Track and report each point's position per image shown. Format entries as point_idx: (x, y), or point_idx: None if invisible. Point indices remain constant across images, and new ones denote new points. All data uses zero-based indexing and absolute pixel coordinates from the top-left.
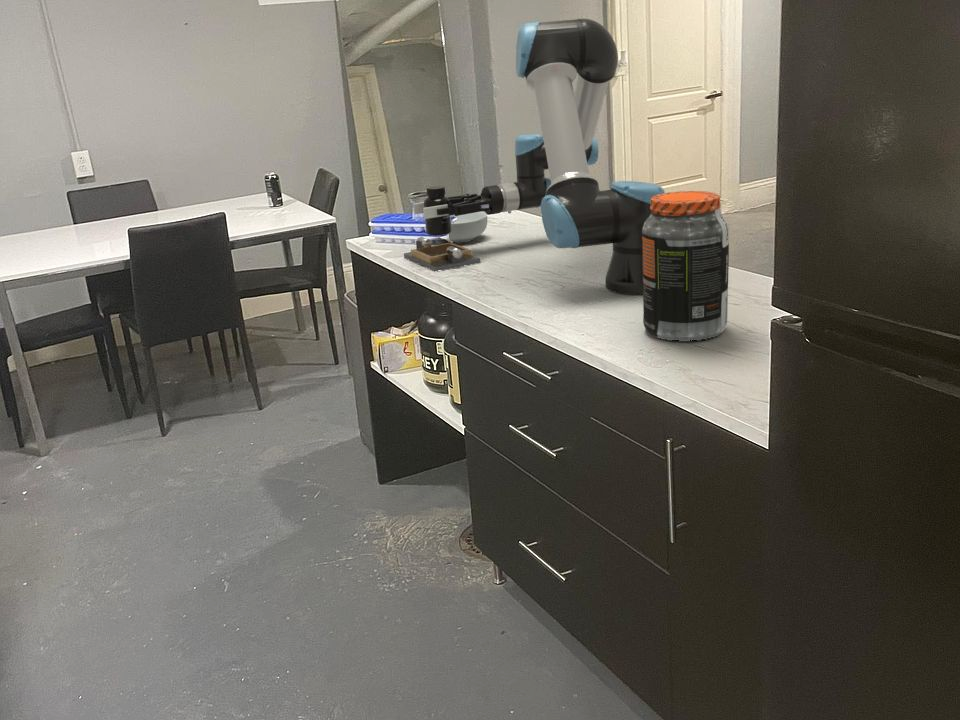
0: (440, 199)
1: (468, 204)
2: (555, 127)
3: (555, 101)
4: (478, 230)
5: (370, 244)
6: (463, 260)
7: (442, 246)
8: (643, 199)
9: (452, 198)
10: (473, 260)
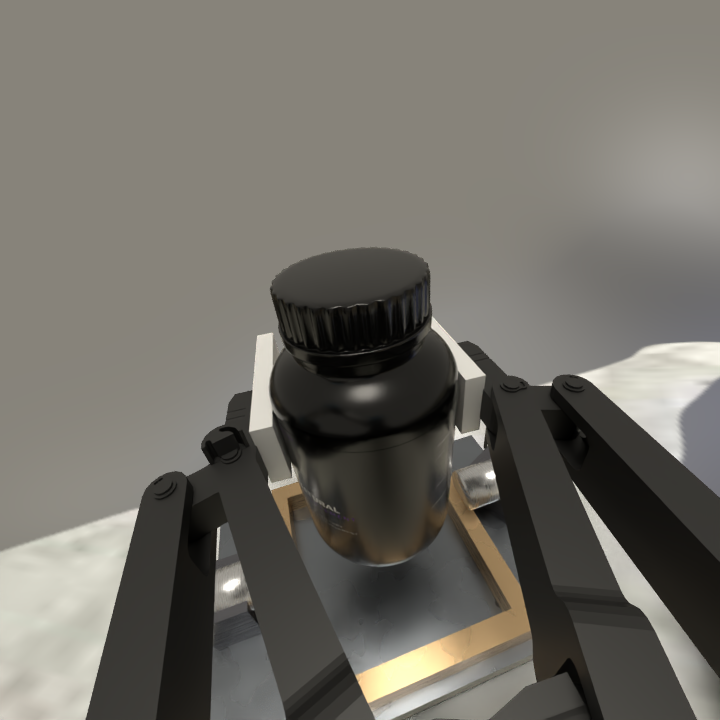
0: (280, 365)
1: (107, 637)
2: None
3: None
4: None
5: (673, 370)
6: (231, 658)
7: (485, 568)
8: None
9: (653, 507)
10: None
